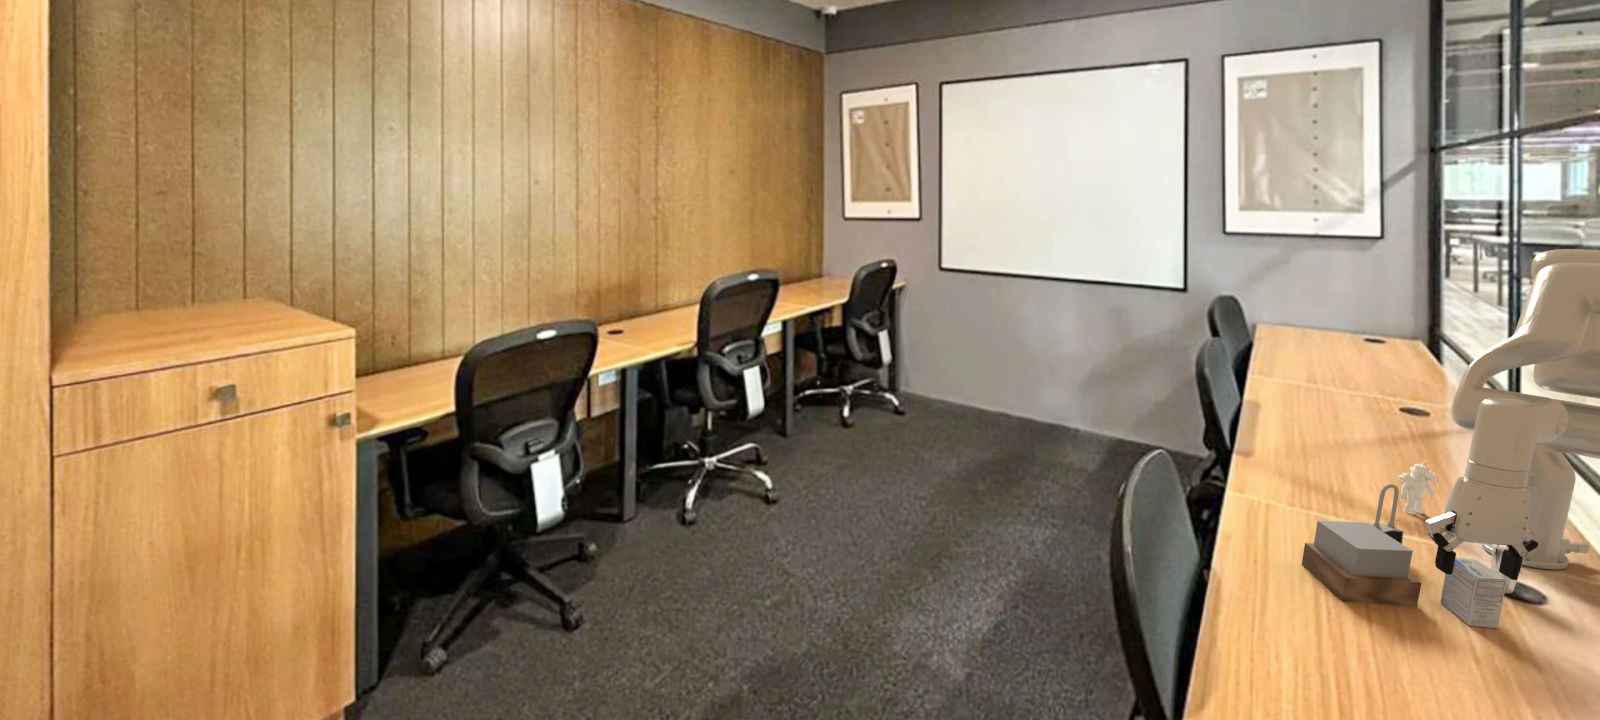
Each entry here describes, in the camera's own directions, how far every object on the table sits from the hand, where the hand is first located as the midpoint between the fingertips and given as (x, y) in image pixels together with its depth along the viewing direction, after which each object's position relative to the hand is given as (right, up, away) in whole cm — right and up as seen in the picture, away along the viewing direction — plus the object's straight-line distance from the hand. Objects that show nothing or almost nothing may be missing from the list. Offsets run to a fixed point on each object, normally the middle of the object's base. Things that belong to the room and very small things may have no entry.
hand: (1475, 573), depth 129 cm
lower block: (-11, -6, +12) cm, 18 cm away
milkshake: (+14, -6, +11) cm, 19 cm away
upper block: (-11, -1, +12) cm, 16 cm away
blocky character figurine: (+26, +1, +46) cm, 53 cm away
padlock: (+1, -3, +24) cm, 24 cm away
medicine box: (0, -8, +2) cm, 8 cm away
